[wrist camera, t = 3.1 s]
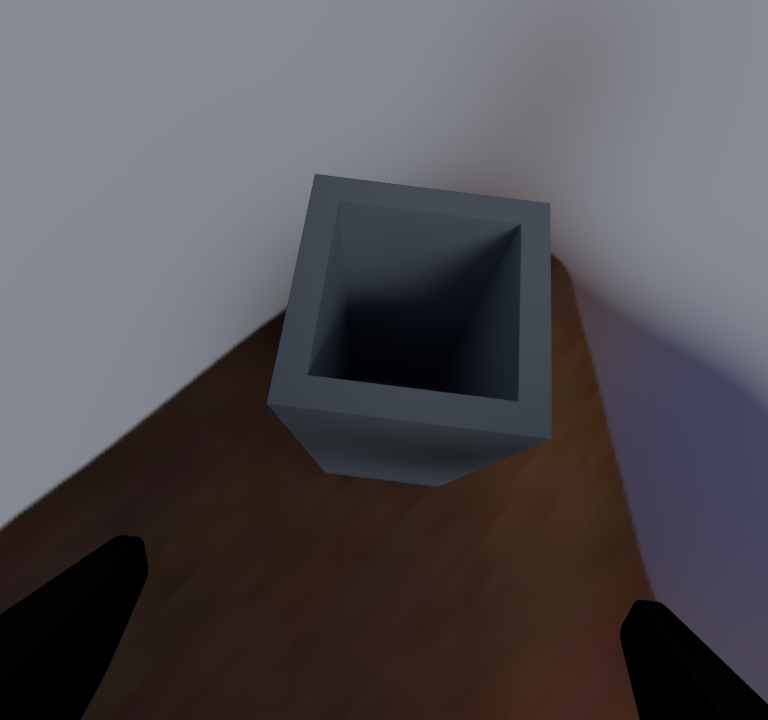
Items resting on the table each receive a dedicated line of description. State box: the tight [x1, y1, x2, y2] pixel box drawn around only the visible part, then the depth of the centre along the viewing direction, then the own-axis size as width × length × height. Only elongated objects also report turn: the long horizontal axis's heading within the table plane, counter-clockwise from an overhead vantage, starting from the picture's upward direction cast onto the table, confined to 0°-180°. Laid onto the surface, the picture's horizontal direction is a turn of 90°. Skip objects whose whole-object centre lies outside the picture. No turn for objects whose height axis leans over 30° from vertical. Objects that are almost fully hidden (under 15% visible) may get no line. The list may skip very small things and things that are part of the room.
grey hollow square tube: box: [267, 174, 552, 487], centre depth 15 cm, size 5×5×13 cm
